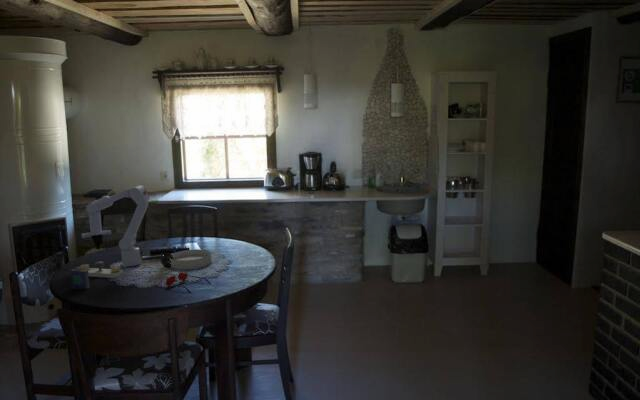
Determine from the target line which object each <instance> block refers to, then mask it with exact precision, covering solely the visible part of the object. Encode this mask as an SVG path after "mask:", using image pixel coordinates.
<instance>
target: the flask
mask: <svg viewBox="0 0 640 400" xmlns="http://www.w3.org/2000/svg"><path fill="white" fill-rule="evenodd" d="M70 276H71V288H72V289H74V290H83V291H84V290H90V280H89V277H90V276H88V270H81V265H80V266H76V267H75V268H72V269H70Z"/></svg>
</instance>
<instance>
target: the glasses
mask: <svg viewBox="0 0 640 400" xmlns="http://www.w3.org/2000/svg"><path fill="white" fill-rule="evenodd" d="M176 276H177V278H178V279H176ZM188 277H192V278H196V279H197V278H198V279H201V280H205V281H206V282H207V283H208V284H209V285H211V284H212V283H211V282H210V281H209V279H207V278H204V277H200V276H195V275H190V274H188V272H187V271H185V272H184V271H181V272H179V273H177V274H175V275H172V276H170V277H167V278H166V281H165V282H164V285H165V284H166V287H168V288H169V287H170V286H176V287H180V288H181V287H182V288H185V290H186V291H187V292H188V293H190V294H191V293H192V291H190V290H189V289H188V287H186V286H184V285H183V286H182V285H178V284H176V283H177V282H178V281H182V282H185V281H186V280H187V278H188ZM174 283H175V284H174Z"/></svg>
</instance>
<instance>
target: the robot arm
mask: <svg viewBox="0 0 640 400" xmlns="http://www.w3.org/2000/svg"><path fill="white" fill-rule="evenodd" d="M123 198H128V199H129V198H131V200H133V201H134V202H135V204H136V208H135V211H134V213H133V216H132V218H131V220H130V222H129V225H128V227H127V229H126V232H125V233H124V235H123V237H122V238H121V239H120V240H119V242H118V247H119V248H120V253H121V262H120V265H121V266H122V268H126V267H133V266H139V265H142V260H141V251H140V248H139V247H136V246H135V244H136V242H137V240H136V239H137V237H138V236H137V233H138V230H139V228H140V226H141V223H142V221H143V219H144V216H145V214H146V211H147V209H148V207H149V199H148V191H147V189H146V187H145V186H144V185H141V184H139V185H136V186H132V187H129V188H126V189H123V190H121V191H119V192H118V193H116V194H114V195H112V196H111V195H110V196H109V195H103V196H102V197H101V198H99V199H95V200H93V202H90V203H88V204H87V205H86V206H85V207H86V208H85V209H86V212H87V214H88V221H89V229H90V231H89V232H86V233H85V232H84V233H81V238H82V239H85V238H90V237H91V239H92V240H93V242H94V245H95V246H96V247H95V248H96V250H100V248H101V244H102V241H103V240H102V239H103V236H105V235H112V230H110V229H108V230H107V229H106V230H103V228H102V227H103V225H102V219H101V218H102V216H101V211H103V210H105V209H106V208H110V207H111V206H113V204H114V202H115V201H119V200H121V199H123Z"/></svg>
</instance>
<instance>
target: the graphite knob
mask: <svg viewBox="0 0 640 400" xmlns="http://www.w3.org/2000/svg"><path fill="white" fill-rule="evenodd" d="M94 266H95V267H94V268H99V270H101V269H104V267H105V263H104V261H100V260H99V261H96V262H94Z"/></svg>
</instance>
